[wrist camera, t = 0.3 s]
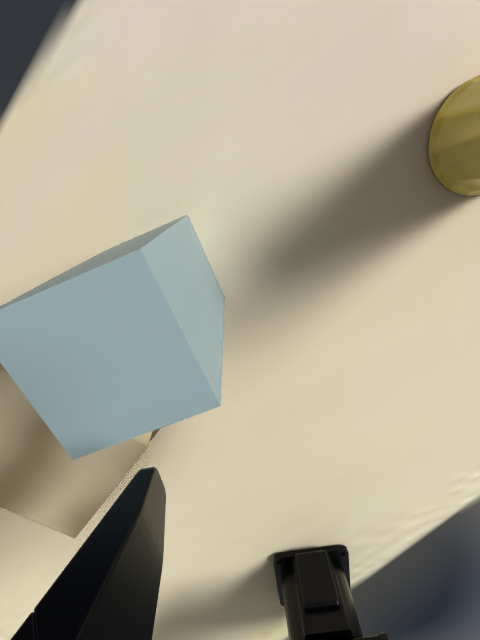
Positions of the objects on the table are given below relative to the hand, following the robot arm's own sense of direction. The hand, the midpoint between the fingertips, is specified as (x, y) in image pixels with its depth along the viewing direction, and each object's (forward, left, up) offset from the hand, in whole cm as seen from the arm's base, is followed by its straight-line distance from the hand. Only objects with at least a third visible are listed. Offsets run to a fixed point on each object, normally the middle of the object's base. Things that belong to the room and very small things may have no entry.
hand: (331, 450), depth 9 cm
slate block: (+2, +6, -15) cm, 16 cm away
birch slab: (-8, +16, -13) cm, 22 cm away
